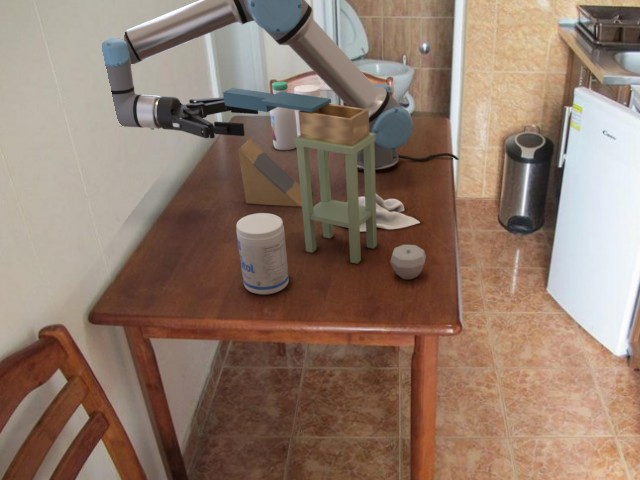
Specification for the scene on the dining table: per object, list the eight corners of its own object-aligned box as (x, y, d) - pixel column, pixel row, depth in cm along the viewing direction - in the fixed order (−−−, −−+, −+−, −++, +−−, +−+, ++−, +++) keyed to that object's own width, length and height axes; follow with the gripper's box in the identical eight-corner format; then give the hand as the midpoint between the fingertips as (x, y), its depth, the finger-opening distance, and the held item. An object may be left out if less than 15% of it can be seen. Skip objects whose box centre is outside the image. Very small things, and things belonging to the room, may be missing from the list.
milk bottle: (302, 143, 214) (296, 80, 203) (291, 152, 208) (285, 87, 197) (280, 141, 216) (274, 78, 205) (269, 149, 210) (262, 85, 199)
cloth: (327, 231, 162) (326, 208, 159) (338, 200, 177) (337, 178, 174) (419, 234, 161) (419, 210, 157) (421, 202, 176) (421, 180, 173)
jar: (297, 127, 227) (293, 83, 219) (325, 127, 227) (322, 83, 219) (294, 139, 218) (290, 93, 209) (323, 138, 218) (320, 92, 210)
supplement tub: (235, 285, 141) (224, 223, 133) (269, 268, 147) (261, 208, 139) (264, 301, 136) (256, 238, 128) (299, 283, 142) (292, 221, 134)
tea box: (300, 137, 139) (298, 111, 137) (319, 126, 145) (317, 101, 142) (352, 146, 135) (350, 119, 132) (369, 134, 141) (368, 109, 138)
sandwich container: (301, 207, 174) (296, 152, 166) (245, 203, 176) (237, 149, 168) (310, 193, 181) (305, 140, 173) (256, 190, 183) (249, 137, 175)
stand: (304, 251, 154) (294, 138, 139) (327, 233, 161) (319, 124, 146) (357, 264, 148) (352, 148, 134) (378, 245, 156) (375, 133, 141)
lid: (219, 107, 145) (216, 94, 144) (240, 98, 151) (238, 85, 149) (313, 123, 136) (311, 108, 135) (331, 112, 142) (331, 98, 140)
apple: (401, 262, 149) (401, 236, 145) (432, 271, 146) (433, 245, 142) (383, 278, 143) (382, 252, 140) (415, 288, 140) (415, 261, 136)
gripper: (180, 109, 168) (263, 114, 168) (144, 149, 148) (238, 155, 148) (176, 79, 164) (261, 85, 163) (138, 116, 144) (235, 123, 143)
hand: (250, 118), depth 156 cm, fingers open, 13 cm apart
